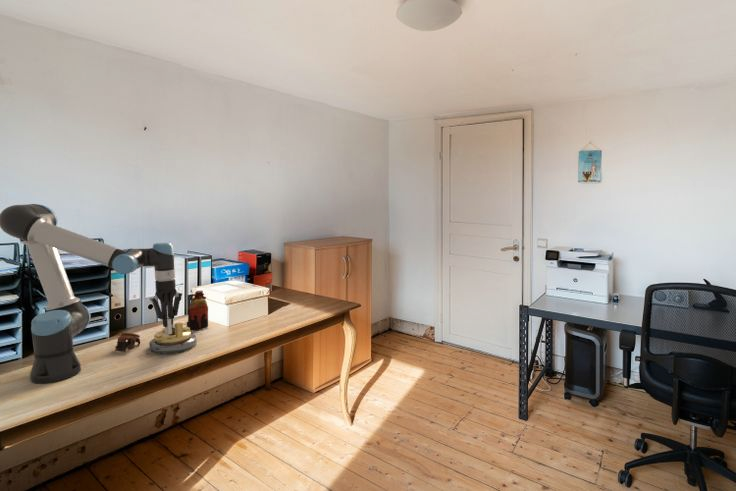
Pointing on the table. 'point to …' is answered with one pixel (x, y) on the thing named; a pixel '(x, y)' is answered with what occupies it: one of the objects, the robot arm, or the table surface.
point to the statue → (198, 312)
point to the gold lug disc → (173, 335)
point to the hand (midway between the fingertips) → (168, 333)
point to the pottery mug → (123, 345)
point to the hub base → (172, 348)
